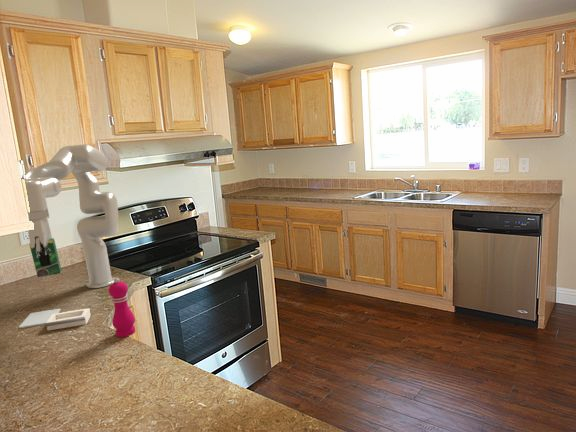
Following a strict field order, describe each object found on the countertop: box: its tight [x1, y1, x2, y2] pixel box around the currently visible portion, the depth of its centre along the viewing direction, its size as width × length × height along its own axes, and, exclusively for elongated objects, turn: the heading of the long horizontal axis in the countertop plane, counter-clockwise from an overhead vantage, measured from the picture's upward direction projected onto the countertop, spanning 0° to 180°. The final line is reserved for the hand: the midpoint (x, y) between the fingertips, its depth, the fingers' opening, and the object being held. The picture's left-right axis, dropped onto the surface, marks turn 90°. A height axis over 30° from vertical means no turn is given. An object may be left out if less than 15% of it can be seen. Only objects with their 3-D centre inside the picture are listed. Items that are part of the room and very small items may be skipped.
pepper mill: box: [108, 277, 136, 338], centre depth 146 cm, size 7×7×20 cm
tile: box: [18, 308, 61, 330], centre depth 167 cm, size 13×11×1 cm
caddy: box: [44, 308, 92, 332], centre depth 160 cm, size 9×13×3 cm
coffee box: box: [29, 237, 62, 278], centre depth 158 cm, size 8×3×13 cm, turn 107°
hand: (47, 263), depth 159 cm, fingers closed on coffee box, 3 cm apart
